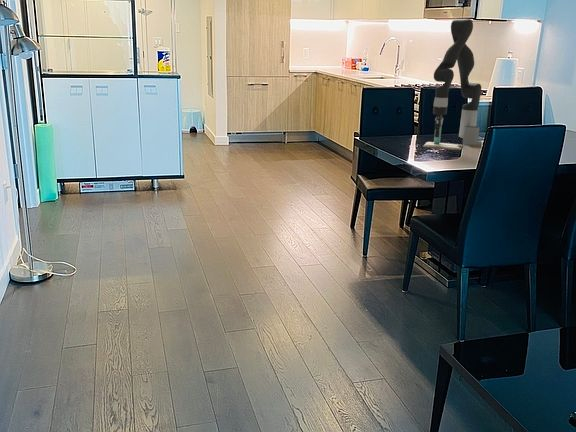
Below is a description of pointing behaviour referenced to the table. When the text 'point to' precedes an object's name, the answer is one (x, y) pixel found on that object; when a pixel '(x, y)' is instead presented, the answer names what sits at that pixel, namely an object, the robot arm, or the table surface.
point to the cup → (471, 135)
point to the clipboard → (443, 146)
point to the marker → (437, 139)
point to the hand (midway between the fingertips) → (437, 136)
